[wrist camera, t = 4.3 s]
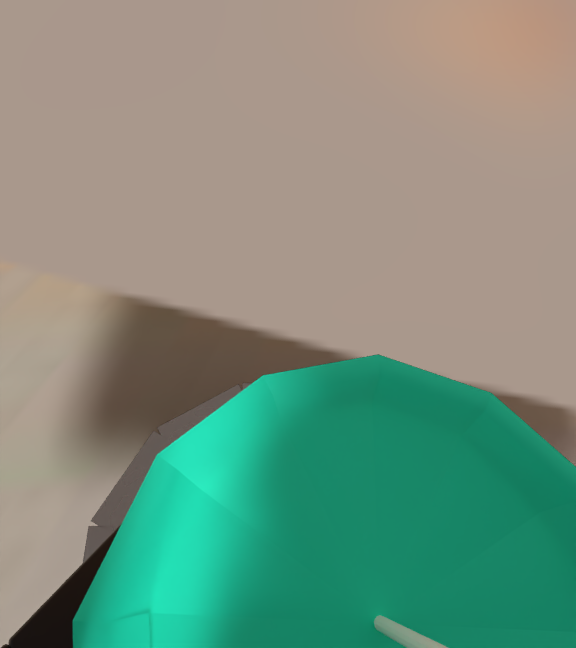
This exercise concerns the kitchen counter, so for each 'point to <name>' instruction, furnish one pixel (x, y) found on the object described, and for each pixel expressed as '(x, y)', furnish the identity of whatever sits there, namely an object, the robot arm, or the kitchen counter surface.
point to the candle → (345, 523)
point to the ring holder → (147, 468)
